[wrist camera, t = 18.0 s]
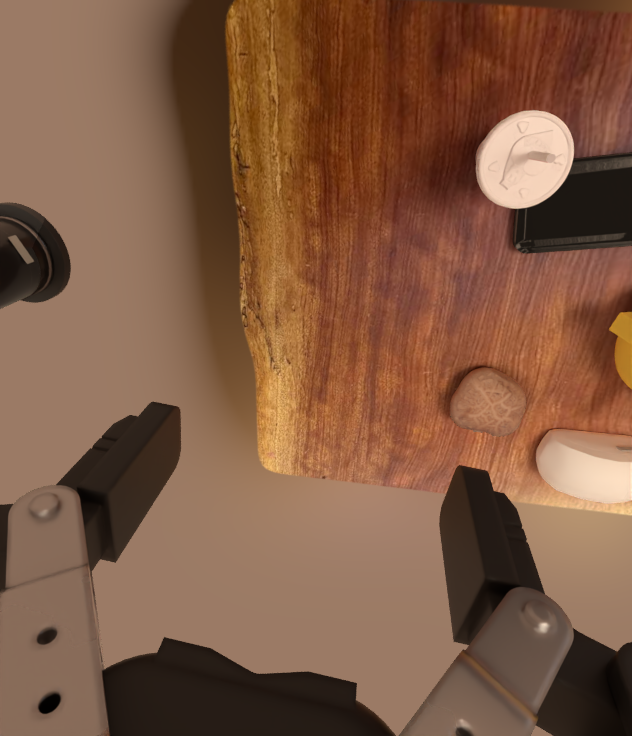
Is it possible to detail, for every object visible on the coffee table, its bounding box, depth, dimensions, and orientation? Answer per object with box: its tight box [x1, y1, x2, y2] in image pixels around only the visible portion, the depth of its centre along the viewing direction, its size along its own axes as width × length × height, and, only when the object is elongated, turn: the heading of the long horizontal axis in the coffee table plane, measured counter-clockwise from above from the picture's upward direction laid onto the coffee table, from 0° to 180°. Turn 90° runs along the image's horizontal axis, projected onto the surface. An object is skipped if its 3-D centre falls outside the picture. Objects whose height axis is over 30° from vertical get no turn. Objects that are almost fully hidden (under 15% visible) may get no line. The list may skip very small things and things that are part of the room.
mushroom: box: [450, 367, 526, 437], centre depth 50 cm, size 8×6×8 cm
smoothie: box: [476, 110, 574, 209], centre depth 34 cm, size 6×6×14 cm
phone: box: [513, 152, 632, 253], centre depth 40 cm, size 8×1×15 cm
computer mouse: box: [536, 429, 632, 503], centre depth 50 cm, size 6×13×6 cm, turn 89°
